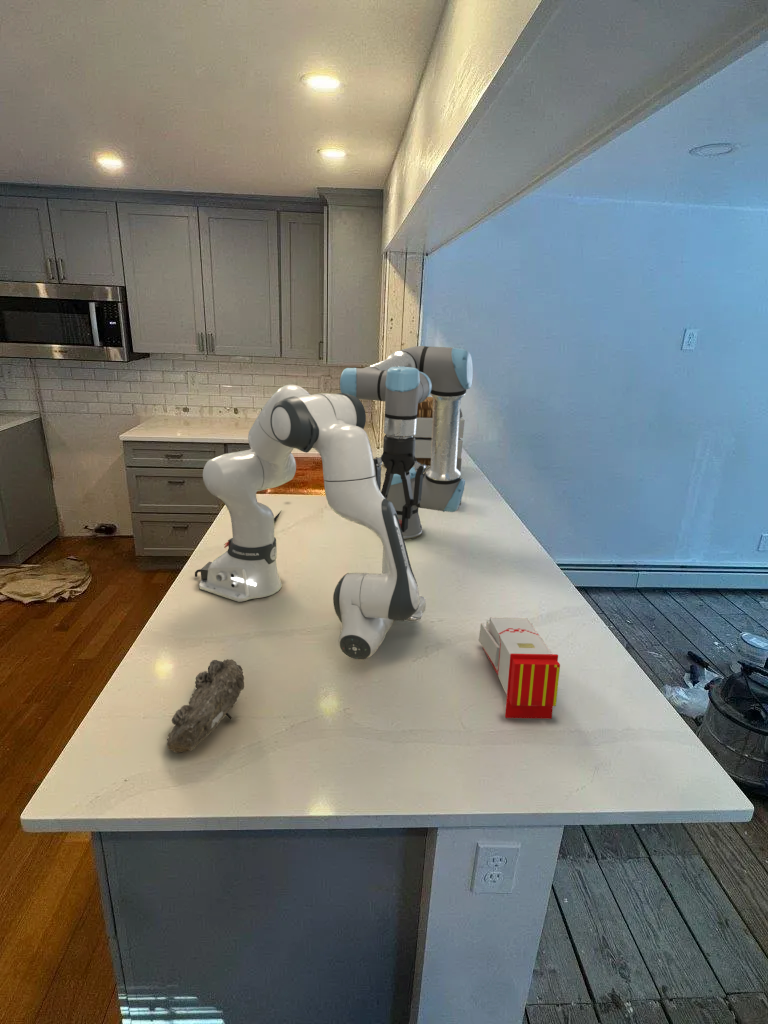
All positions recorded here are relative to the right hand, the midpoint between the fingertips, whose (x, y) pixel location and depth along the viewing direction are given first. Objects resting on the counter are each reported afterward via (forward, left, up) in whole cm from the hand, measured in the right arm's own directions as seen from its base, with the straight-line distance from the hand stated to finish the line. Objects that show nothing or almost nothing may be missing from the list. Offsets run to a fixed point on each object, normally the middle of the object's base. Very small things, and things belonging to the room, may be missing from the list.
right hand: (394, 528), depth 140 cm
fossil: (+10, -54, -24) cm, 59 cm away
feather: (-79, +14, -24) cm, 84 cm away
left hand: (-1, +1, -17) cm, 17 cm away
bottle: (0, 0, -24) cm, 24 cm away
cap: (0, 0, +2) cm, 2 cm away
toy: (+37, +3, -24) cm, 44 cm away
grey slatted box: (-92, +99, -24) cm, 137 cm away
